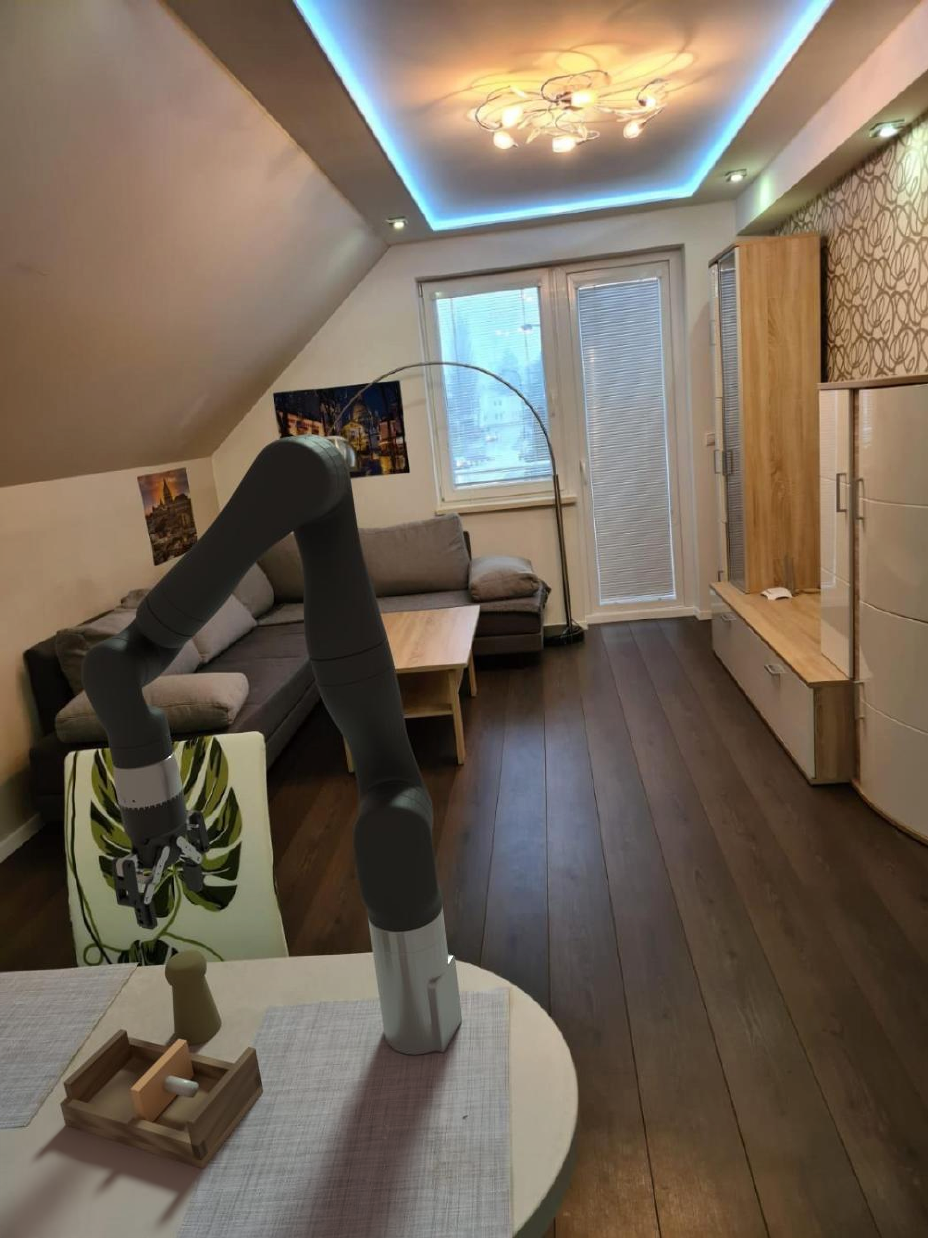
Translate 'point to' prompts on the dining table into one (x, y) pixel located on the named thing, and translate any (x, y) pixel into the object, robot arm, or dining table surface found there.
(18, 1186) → the dining table surface
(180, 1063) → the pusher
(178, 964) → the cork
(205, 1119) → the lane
